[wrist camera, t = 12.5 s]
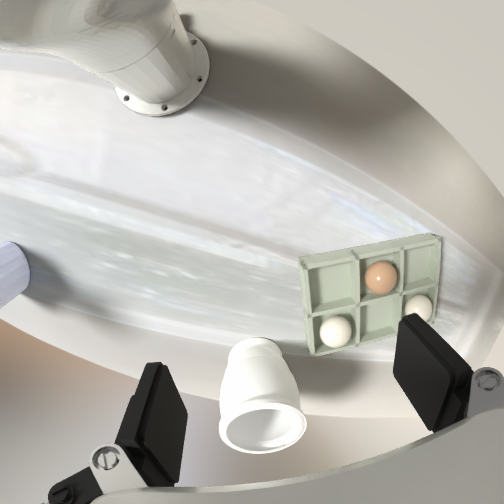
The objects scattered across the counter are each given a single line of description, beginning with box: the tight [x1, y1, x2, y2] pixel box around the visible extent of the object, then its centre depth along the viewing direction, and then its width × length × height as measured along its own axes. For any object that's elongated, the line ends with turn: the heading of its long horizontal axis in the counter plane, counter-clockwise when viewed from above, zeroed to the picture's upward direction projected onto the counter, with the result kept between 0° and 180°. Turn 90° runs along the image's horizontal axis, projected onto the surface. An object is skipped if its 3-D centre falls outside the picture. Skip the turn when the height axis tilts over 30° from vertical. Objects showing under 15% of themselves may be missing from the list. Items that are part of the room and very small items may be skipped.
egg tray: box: [297, 233, 441, 358], centre depth 40 cm, size 15×22×3 cm
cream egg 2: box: [405, 294, 432, 322], centre depth 39 cm, size 5×5×5 cm
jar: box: [219, 338, 306, 454], centre depth 37 cm, size 11×10×15 cm
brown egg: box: [365, 261, 397, 295], centre depth 37 cm, size 5×5×5 cm
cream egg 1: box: [320, 316, 352, 348], centre depth 39 cm, size 5×5×5 cm
